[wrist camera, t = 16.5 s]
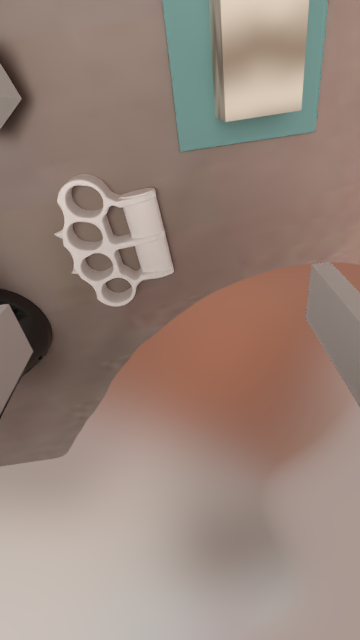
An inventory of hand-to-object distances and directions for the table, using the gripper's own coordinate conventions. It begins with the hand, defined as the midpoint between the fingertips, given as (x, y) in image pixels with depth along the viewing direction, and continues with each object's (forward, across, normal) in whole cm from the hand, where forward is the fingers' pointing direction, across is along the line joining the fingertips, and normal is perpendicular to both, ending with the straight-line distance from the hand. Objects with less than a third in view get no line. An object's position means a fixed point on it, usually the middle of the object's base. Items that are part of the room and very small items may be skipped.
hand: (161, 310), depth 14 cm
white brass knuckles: (+32, -9, -8) cm, 34 cm away
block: (+31, +10, +10) cm, 34 cm away
